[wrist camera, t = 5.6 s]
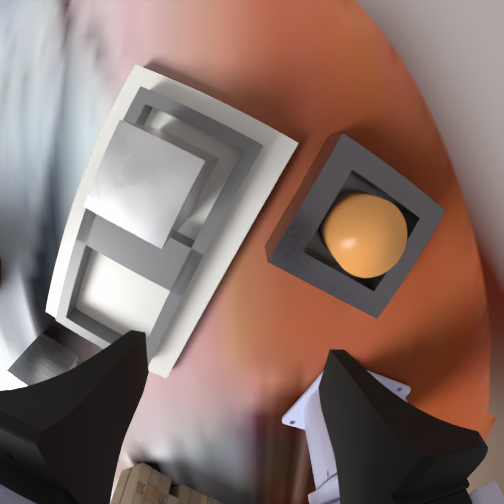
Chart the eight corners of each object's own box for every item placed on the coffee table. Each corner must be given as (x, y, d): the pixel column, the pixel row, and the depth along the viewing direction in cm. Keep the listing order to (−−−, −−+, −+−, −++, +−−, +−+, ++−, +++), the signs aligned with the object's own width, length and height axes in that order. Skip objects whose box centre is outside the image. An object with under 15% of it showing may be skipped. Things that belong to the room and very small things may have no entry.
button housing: (421, 202, 19) (445, 210, 16) (362, 298, 21) (377, 318, 18) (328, 135, 18) (343, 133, 15) (264, 245, 20) (267, 261, 17)
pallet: (296, 143, 18) (303, 142, 16) (169, 370, 23) (162, 391, 21) (140, 68, 16) (127, 58, 14) (51, 305, 21) (36, 320, 19)
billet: (78, 355, 23) (48, 399, 17) (72, 382, 24) (46, 425, 18) (42, 332, 22) (7, 370, 16) (38, 361, 23) (8, 399, 17)
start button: (397, 213, 18) (420, 224, 15) (362, 271, 19) (379, 290, 17) (343, 176, 18) (360, 181, 15) (306, 239, 19) (316, 254, 16)
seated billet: (219, 158, 17) (205, 161, 12) (187, 218, 18) (161, 249, 13) (159, 128, 17) (119, 119, 11) (130, 189, 18) (83, 206, 12)
